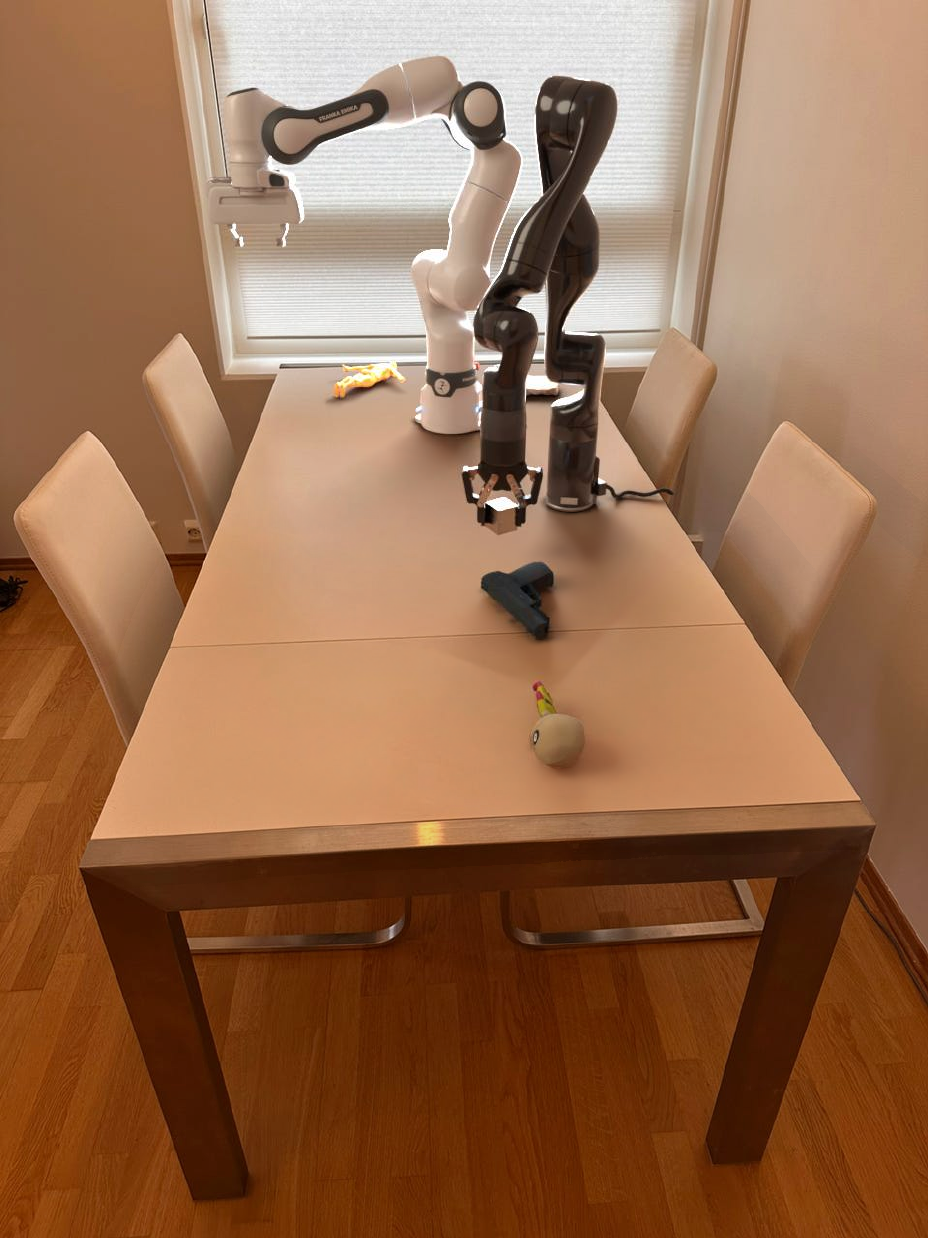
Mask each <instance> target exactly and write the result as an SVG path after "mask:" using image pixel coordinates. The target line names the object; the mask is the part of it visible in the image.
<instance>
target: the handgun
mask: <svg viewBox="0 0 928 1238" xmlns="http://www.w3.org/2000/svg"><path fill="white" fill-rule="evenodd" d="M480 579H481V581H480V589H481V590H482V591H484V592H485V593H486V594H488V595H489V597H490V598H491V599H492V600H494V601H495V602H497V603H498V604H499V605H500V606H501V607H502V608H503V609H505V611H506V612H507V613H508V614H510V615H511V617H512V618H513V619H515V621H517V622H518V623H519V624H520V625H521V626H522V627H524V628H525V631H526V633H530V634H531V635H532V636H533V637H534V638H535V639H536V640H539V639H543V638H546V637H547V636H548V634H549V629H550V617H549V616H548V614H546V613H545V612H544V611H543V610H542V609H541V607H543V598H542V596H541V595H539V593H540V592H542V591H545V590H546V589H548V588H549V587H550V588H552V587H553V586H554V583H555V582H554V581H555V575H554V571H553V570H552V569H551V568H550V567H549V566H548V565H547V564H546V562H543V561H531V562H529V563H527V564H525V565H523V566H520V567H518V568H517V569H515V570H513V571H511V572H510V573H507V572H503V571H500V570H495V571H492V572H491V571H490V572H487V573H485V574H484V575H483V576H482V577H481V578H480Z"/></svg>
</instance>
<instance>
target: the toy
mask: <svg viewBox="0 0 928 1238" xmlns="http://www.w3.org/2000/svg"><path fill="white" fill-rule="evenodd" d="M532 691H533V692H535V705H536V708H537V711H538V714H539V716H540V719H538V721H537V722H536V723H535V725H534V726H533V728H532V730H531V732H530V734H529V743H530V745H531V746H533V748H534V752H535V757H536V758H537V760H538V761H539V762H540V763H542V764H544V765H546V766H548V767H550V768H554V769H562V768H568V767H571V766H572V765H574V764H575V763H576V762H577V761H578V759H580V756H581V755H582V754H583V751H584V749H585V745H586V736H585V729H584V725H583V723H582V721H581V720H580V719H578V718H575V717H574V716H571V715H569V714H564V713H558V712H557V709H556V707H555V704H554V700H553V698H552V696H551V694H550V693H549V692H548V690H547V688H546V686H544V684H543V683H542V681H540V680H537V681H536V682H535V683H533V685H532Z"/></svg>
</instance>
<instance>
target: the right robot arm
mask: <svg viewBox="0 0 928 1238" xmlns="http://www.w3.org/2000/svg"><path fill="white" fill-rule="evenodd" d="M617 117H618V99H617V94H616V91H615V90H614V88H613V87H612V86H611V85H610V84H608V83H606V82H601V81H597V80H590V79H584V78H578V77H571V76H565V75H552V76H549V77H547V78H546V79H545V80H544V81H543V82H542V84H541V85H540V88H539V91H538V93H537V96H536V101H535V107H534V137H535V145H536V153H537V160H538V167H539V168H538V170H539V178H540V185H541V186H540V187H541V196H540V197H539V198H538V199H537V200H536V201H535V202H534V203H533V204H532V206H530V207H529V209H528V210H527V211H526V212H525V213H524V214H523V216H522V217H521V218H520V220H519V222H518V223H517V224H516V226H515V228H514V232H513V234H512V235H511V239H510V242H509V245H508V247H507V251H506V253H505V257H504V260H503V262H502V263H503V264H502V266H501V269H500V271H499V272H498V274H497V276H496V277H495V278H494V279H493V281H492V282H491V286H490V288H489V289H488V291H487V293H486V294H485V296H484V297H483V299H482V301H481V302H480V304H479V306H478V308H477V310H476V311H475V313H474V317H473V321H472V328H473V333H474V340H475V341H476V343H477V344H478V345H479V346H480V347H482V348H485V349H487V350H491V351H493V352H494V351H495V352H498V353H501V359H500V363H499V364H494V365H491V366H489V367H487V368H486V369H485V370H484V371H483V374H482V380H481V385H482V411H481V418H480V430H479V463H478V464H477V466H472V467H471V466H470V467H469V466H468V465H464V466H462V469H461V478H462V483H463V490H464V495H465V500H466V503H467V504H469V505H470V504H472V505H475V506H476V521H477V523H478V524H480V527H485V502H487V500H488V499H489V497H490V495H491V493H492V491H493V492H500V491H504V492H505V491H506V492H512V494H513V496H514V497H515V499H516V501H517V506H518V523H517V528H522V525H524V524H525V523H526V521H527V507H528V506H530V505H532V506H534V505H537V503H538V500H539V495H540V491H541V487H542V483H543V478H544V469H543V467H541V466H537V467H536V468H534V467H529V466H528V464H527V462H526V453H527V452H526V451H527V450H526V448H527V446H526V445H527V429H528V425H527V420H528V419H527V409H526V400H527V399H526V397H527V395H526V380H527V376H529V372H530V371H531V366H532V364H533V361H534V356H535V352H536V350H537V346H538V341H539V326H538V325H539V324H538V322H537V318H536V317H535V315H534V314H533V313H532V312H531V311H530V310H527V309H526V308H522V307H518V306H519V304H520V302H521V301H522V299H523V298H525V297H527V296H535V295H538V294H541V292H542V291H543V289H545V328H544V329H545V330H544V331H545V332H544V353H543V355H544V359H543V360H544V361H543V363H544V373H545V376H547V379H548V380H549V381H550V382H553V383H558V384H559V385H571V386H581V387H582V388H583V389H582V390H581V391H579V392H578V393H577V392H576V393H575V394H572V395H570V396H567V397H563V398H560V399H557V400H556V401H554V402H552V404H551V405H550V410H549V431H548V448H547V449H548V450H547V453H548V454H547V473H546V492H545V504H546V506H548V507H549V508H551V509H553V510H555V511H559V512H564V513H565V512H567V513H576V512H582V511H586V510H588V509H590V508H591V507H592V506H593V505H596V504H597V501H598V500H597V499H598V497H602V496H606V495H607V490H608V491H609V492H610V495H611V496H612V497H613V498H614V499H617V500H618V499H621V498H622V497H624V496H625V495H632V496H636V497H642V498H647V497H653V496H656V495H657V494H660V493H666V494H667V495H669V496H673V495H675V494H674V492H673V491H672V490H671V489H669V488H667V487H662V488H661V487H660V488H658V489H655V490H652V491H648V492H641V491H636V490H631V489H629V490H623V491H621V492H619V493H618V494H617V493H616V491H615V489H614V488H613V487H612V486H611V485H609V484H608V482H606V481H605V480H603V479H602V478H600V477H599V475H600V463H601V460H600V459H601V458H600V457H599V456H597V447H598V446H597V445H598V434H599V433H598V431H599V420H600V407H601V406H600V405H601V396H602V395H601V394H602V385H603V376H604V370H605V364H606V363H605V362H606V353H607V351H606V350H607V349H606V348H607V346H606V341H605V338H604V336H603V335H602V334H598V333H590V332H589V333H588V332H574V331H573V332H572V331H566V330H565V325H566V323H567V320H568V318H569V316H570V314H571V313H572V311H573V309H574V308H575V306H576V305H577V303H578V302H579V301H580V299H581V298H582V297H583V296H584V294H585V293H586V291H587V290H588V289H589V287H590V286H591V285H592V283H593V281H594V280H595V278H596V277H597V274H598V272H599V267H600V247H601V246H600V244H601V243H600V242H601V235H600V234H601V232H600V227H599V223H598V220H597V218H596V215H595V212H594V211H593V208H592V206H591V204H590V203H589V200H588V199H587V197H586V195H585V190H586V189H587V187H588V185H589V183H590V181H591V179H592V177H593V175H594V172H595V170H596V168H597V167H598V164H599V163H600V160H601V159H602V157H603V155H604V153H605V151H606V149H607V147H608V145H609V141H610V139H611V137H612V135H613V131H614V129H615V124H616V121H617ZM477 474H478V476H479V477H480V479H481V480H482V482H483V485H482V486H481V489H480V492H479V494H476V493H475V491H474V487H473V481H474V480H475V479H476V475H477ZM527 475H528V476H529V480H530V482H532V484H531V488H530V494H527V495H526V494H525V492H524V490H523V487H522V484H521V483H522V481H523V480H524V479H525V477H526V476H527Z"/></svg>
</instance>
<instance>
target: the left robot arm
mask: <svg viewBox="0 0 928 1238" xmlns="http://www.w3.org/2000/svg"><path fill="white" fill-rule="evenodd" d="M431 118H440V119H441V122H443V124H444V126H445V128H446V129H447V131H448V133H449V135H450V136H451V138H452V140H453V141H454V142H455V143H456V144H457V145H458V146H459V147H461V148H463V149H464V150H468V151H470V153H471V160H470V164H469V167H468V170H467V172H466V175H465V178H464V179H463V182H462V184H461V187H460V189H459V192H458V194H457V196H456V199H455V201H454V203H453V206H452V208H451V210H450V213H449V218H448V223H449V228H450V231H449V239H448V244H447V249H446V250H443V249H430V250H425V251H423V252H421V253H419V254H418V255H417V256H416V257H415V258H414V260H413V261H412V265H411V267H410V278H411V282H412V284H413V286H414V288H415V291H416V294H417V297H418V301H419V306H420V311H421V315H422V319H423V324H424V330H425V338H426V341H425V342H426V362H427V363H426V366H425V371H424V372H425V373H424V376H425V383H426V384H425V385H424V386H422V387H421V389H420V402H419V403H420V406H418V407H417V408H415V412H416V413H417V412H419V414H417V415H416V416H415V417H414V421H415V422H416V423H418V424H420V425H421V426H422V428H423V429H425V430H427V431H429V432H431V433H435V434H444V435H459V434H466V433H467V434H468V433H471V432H475V431H480V418H481V411H482V383H480V382H479V381H478V371H479V369H480V363H479V361H475V337H474V333H473V325H471V321H470V320H469V316H468V312H469V313H470V312H476V310H477V308H478V306H479V304H480V302H481V301H482V299H483V297H484V296H485V294H486V293H487V291H488V289H489V288H490V286H491V284H492V280H491V276H490V268H491V262H492V261H491V260H492V254H493V249H494V245H495V242H496V238H497V236H498V233H499V231H500V228H501V226H502V224H503V221H504V219H505V216H506V214H507V212H508V209H509V207H510V205H511V202H512V199H513V198H514V195H515V192H516V188H517V185H518V182H519V180H520V175H521V171H522V167H523V156H522V154H521V151H520V150H519V148H518V147H517V146H516V145H515V144H514V143H512V142H511V141H509V140H507V139H506V136H507V120H506V119H507V118H506V107H505V101H504V99H503V96H502V94H501V92H500V91H499V89H498V88H497V87H496V86H494V85H493V84H491V83H489V82H486V81H483V80H475V81H472V82H469V83H467V84H463V82H462V81H461V80H460V76H459V73H458V70H457V68H456V66H455V64H454V63H453V62H452V61H451V59H449V58H448V57H446V56H443V55H434V56H426V57H420V58H416V59H415V58H414V59H412V60H408V61H404V62H401V63H398V64H395V65H392V66H389V67H387V68H385V69H383V70H381V71H380V72H378V73H376V74H375V75H373V76H371V77H370V78H368V79H367V80H366V81H365V82H364V84H362V85H361V86H360V87H359V88H358V89H357V90H356V91H354V92H353V93H351V94H350V95H347V96H346V97H343V98H340V99H337V100H335V101H332V102H328V103H326V104H323V105H320V106H316V107H314V108H310V109H299V108H297V107H294V106H291V105H288V104H285V103H283V102H281V101H278V100H276V99H274V98H273V97H271V96H269V95H267V94H266V93H265V92H263V91H262V90H261V89H260V88H258V87H249V88H248V87H247V88H244V89H243V88H242V89H239V90H235V91H231V92H230V93H229V94H227V96H226V97H225V99H224V101H223V126H224V134H225V135H224V136H225V140H226V142H227V146H228V150H229V151H228V153H229V154H228V166H229V173H230V176H219V177H218V176H211V177H210V178H209V179H206V181H205V183H204V190H205V195H206V198H207V199H208V201H207V205H208V206H207V207H208V218H209V221H210V222H211V223H212V224H213V225H226V229H227V232H228V233H229V234H230V236H231V237H232V239H233V245H234V247H243V246H244V242H243V237H242V236H239V235H238V234H237V232H236V230H235V229H236V228H237V226H236V225H279V228H280V230H281V231H282V232H281V235H280V236H277V237H276V239H275V240H276V246H277V247H286V239H285V237H286V235H287V233H288V231H289V228H290V227H289V225H299V224H301V223H302V222H303V220H304V218H305V214H304V207H303V201H302V197H301V194H300V191H299V189H298V188H297V187H296V186H295V185H294V184H295V183H296V176H295V174H294V173H292V172H290V171H286V170H284V169H280V168H277V167H274V166H273V165H272V159H273V160H274V161H276V162H277V163H279V164H282V165H287V166H293V165H297V164H299V163H301V162H303V161H304V160H305V159H307V158H308V157H309V156H310V154H311V153H312V152H313V151H314V150H315V149H316V148H318V147H319V146H321V145H323V144H325V143H328V142H331V141H334V140H337V139H339V138H342V137H346V136H347V135H351V134H353V133H357V132H361V131H367V130H368V131H369V130H384V129H385V130H388V129H395V128H401V127H402V128H403V127H406V126H409V125H412V124H415V123H418V122H421V121H424V120H425V121H426V120H428V119H431Z"/></svg>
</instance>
